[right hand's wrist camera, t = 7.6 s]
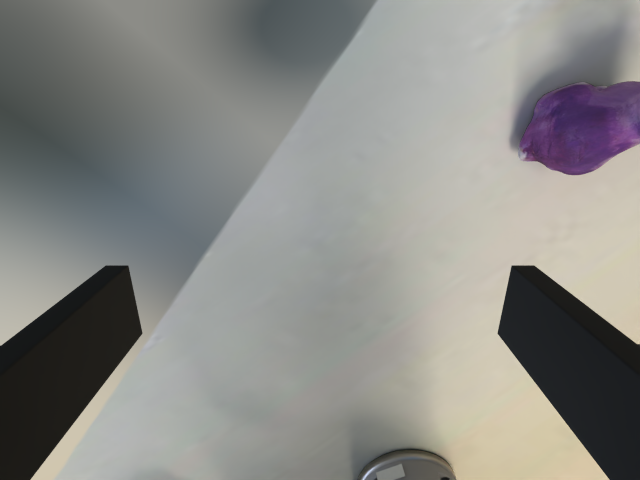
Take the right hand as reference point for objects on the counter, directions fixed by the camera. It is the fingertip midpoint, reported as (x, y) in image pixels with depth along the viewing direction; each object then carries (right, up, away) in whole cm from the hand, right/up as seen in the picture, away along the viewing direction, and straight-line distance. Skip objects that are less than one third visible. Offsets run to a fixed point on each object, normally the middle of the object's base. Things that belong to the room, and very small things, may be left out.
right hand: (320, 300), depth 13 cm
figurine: (+25, +15, +24) cm, 38 cm away
